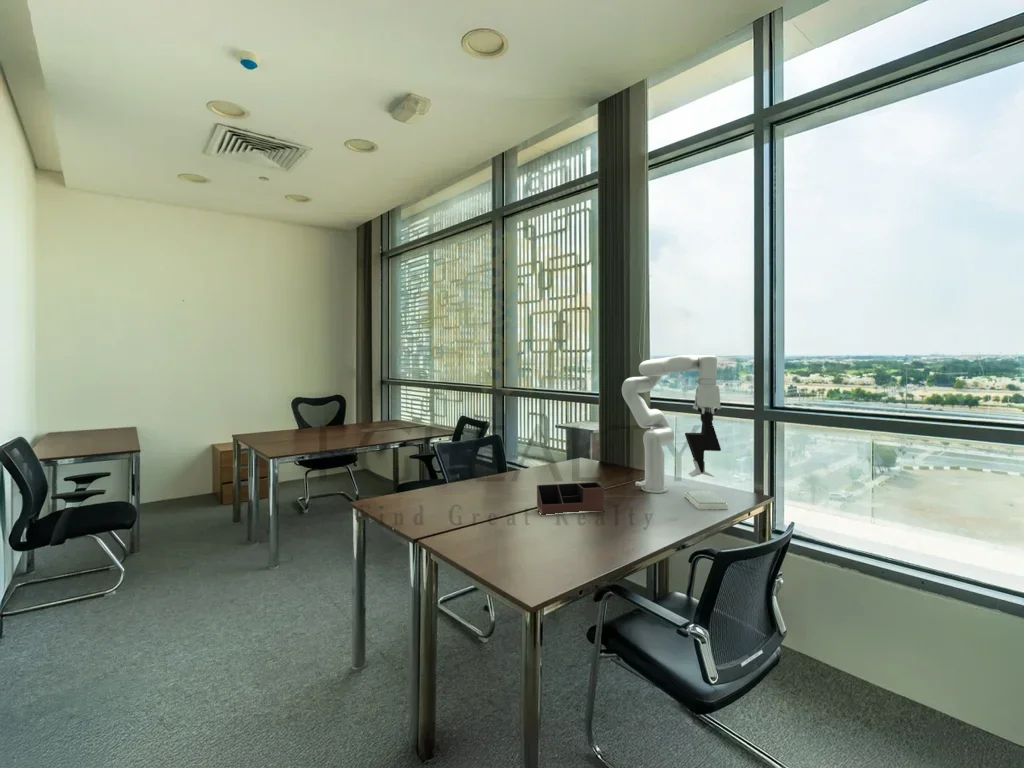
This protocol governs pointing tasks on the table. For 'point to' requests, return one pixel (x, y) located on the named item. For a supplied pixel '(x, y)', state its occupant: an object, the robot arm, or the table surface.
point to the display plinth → (705, 500)
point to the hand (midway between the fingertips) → (706, 421)
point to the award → (702, 445)
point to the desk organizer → (570, 497)
